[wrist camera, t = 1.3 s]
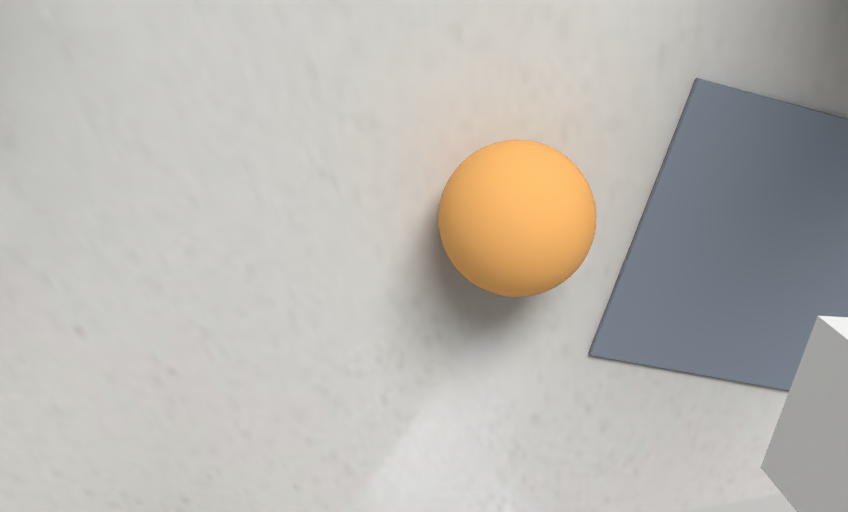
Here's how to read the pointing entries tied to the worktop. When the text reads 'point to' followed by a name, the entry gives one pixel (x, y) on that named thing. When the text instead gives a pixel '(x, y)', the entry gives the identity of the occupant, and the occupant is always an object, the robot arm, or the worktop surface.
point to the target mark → (736, 242)
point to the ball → (517, 218)
